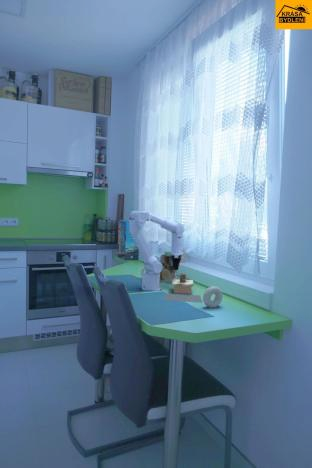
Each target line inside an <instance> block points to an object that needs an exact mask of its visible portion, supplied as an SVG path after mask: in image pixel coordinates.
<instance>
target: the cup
mask: <svg viewBox="0 0 312 468" xmlns="http://www.w3.org/2000/svg"><path fill="white" fill-rule="evenodd" d="M145 270H146V269H145V267H144V266H143V267H141V271H140V274H141V275H140V276H141V277H142V276H143V273H146V271H145Z"/></svg>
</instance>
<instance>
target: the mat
mask: <svg viewBox="0 0 312 468" xmlns="http://www.w3.org/2000/svg"><path fill="white" fill-rule="evenodd" d="M163 300H164V301H167V302H183V303H186V302H187V303H203V299H202V296H201V295H200V294H199V295H197V294H178V293H164V299H163Z"/></svg>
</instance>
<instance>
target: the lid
mask: <svg viewBox="0 0 312 468" xmlns="http://www.w3.org/2000/svg"><path fill="white" fill-rule="evenodd" d="M171 285H172V286H174V285H180V286H192V287H194V280H193V279H187V274H186V273H179V279H177V278H176V279H172V283H171Z"/></svg>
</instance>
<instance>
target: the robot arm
mask: <svg viewBox="0 0 312 468" xmlns="http://www.w3.org/2000/svg"><path fill="white" fill-rule="evenodd" d="M127 220H128V222H129V223H128V224H129V233H130V234H131V237H132V238H133V240H134V243H135V244H136V247H137V249H138V250H139V253H140V254H141V257H142V258H143V265H144V266H143V267H145V269H144V270H145V272H146V273H145V272H144V273H143V276H142V275H141V277H142V278H141V280H142V281H141V291H160V290H161V287H160V272H161V271H162V264H161V263H160V261H159V260H158V258H156V256H155V255H154V254H153V253H152V250H151V248H150V246H149V243H148V242H147V241H146V238H145V237H144V234H143V232H142V229H143V226H144V225H145V224H146V223H147V222H152V223H155V224H157V225H160V228H162V229H164V230H166V231H167V232H170V233H171V246H170V247H171V251H170V255H171V256H172V257H171V259H172V261H173V267H174V270H177V271H179V267H180V263H181V260H182V258H181V257H182V255H184V252H183V251H182V248H183V247H182V245H183V234H184V231H185V228H184V225H183V224H182V223H178V222H177V221H175V220H174V221H173V220H171V219H170V218H169V217H166V218H165V217H164V218H160V217H158V216H157V215H155V214H152V213H150V212H148V211H145V210H132V211H130V213H129V215H128V217H127Z"/></svg>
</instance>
